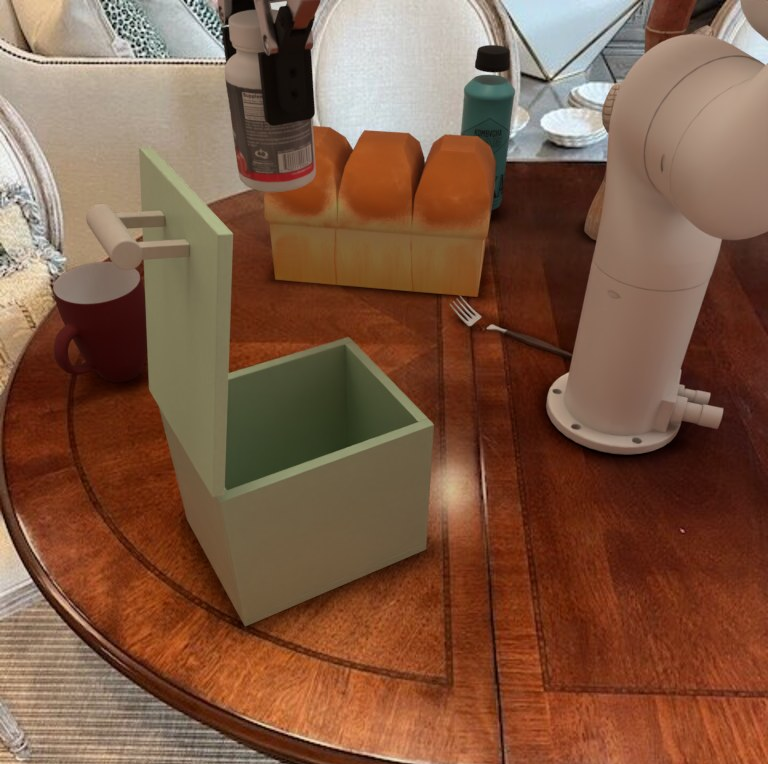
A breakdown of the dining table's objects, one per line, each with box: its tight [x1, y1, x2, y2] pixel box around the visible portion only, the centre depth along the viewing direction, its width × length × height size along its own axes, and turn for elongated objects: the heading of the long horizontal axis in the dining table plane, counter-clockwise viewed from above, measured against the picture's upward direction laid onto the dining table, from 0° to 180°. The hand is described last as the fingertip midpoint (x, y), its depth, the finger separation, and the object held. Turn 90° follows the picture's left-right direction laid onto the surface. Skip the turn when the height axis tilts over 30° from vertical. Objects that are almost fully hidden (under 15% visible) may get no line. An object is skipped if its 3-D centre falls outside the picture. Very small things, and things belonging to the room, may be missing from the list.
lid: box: [85, 146, 234, 497], centre depth 46 cm, size 16×13×5 cm
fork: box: [448, 295, 573, 360], centre depth 84 cm, size 3×16×2 cm, turn 53°
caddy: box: [158, 336, 435, 627], centre depth 59 cm, size 16×13×13 cm
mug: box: [52, 261, 148, 383], centre depth 75 cm, size 11×8×10 cm
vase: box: [583, 0, 715, 241], centre depth 92 cm, size 10×7×30 cm
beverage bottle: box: [459, 44, 516, 211], centre depth 99 cm, size 6×7×20 cm
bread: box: [263, 125, 496, 298], centre depth 91 cm, size 25×12×15 cm, turn 81°
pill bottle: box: [224, 8, 316, 193], centre depth 51 cm, size 5×5×10 cm
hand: (271, 103), depth 51 cm, fingers closed on pill bottle, 5 cm apart
